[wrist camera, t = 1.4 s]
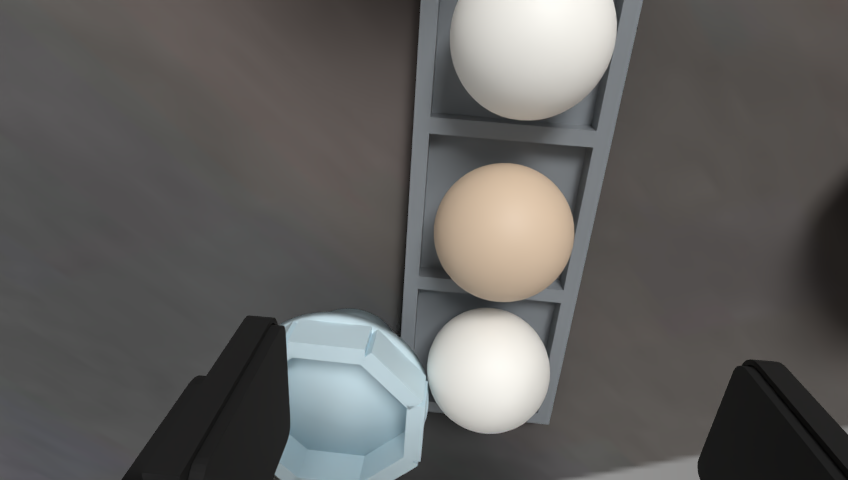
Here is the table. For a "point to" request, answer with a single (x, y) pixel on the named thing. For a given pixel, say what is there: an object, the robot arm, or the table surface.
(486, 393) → the white egg
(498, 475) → the table surface
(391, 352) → the egg cup
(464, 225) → the egg brown
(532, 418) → the egg tray
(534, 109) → the white egg
